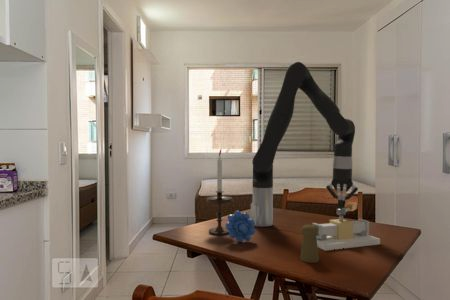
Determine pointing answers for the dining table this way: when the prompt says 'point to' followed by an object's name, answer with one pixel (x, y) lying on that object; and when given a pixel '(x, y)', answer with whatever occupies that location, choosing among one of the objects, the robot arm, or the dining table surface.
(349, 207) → the lever
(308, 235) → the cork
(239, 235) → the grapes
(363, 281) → the dining table surface
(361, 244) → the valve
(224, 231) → the candlestick
